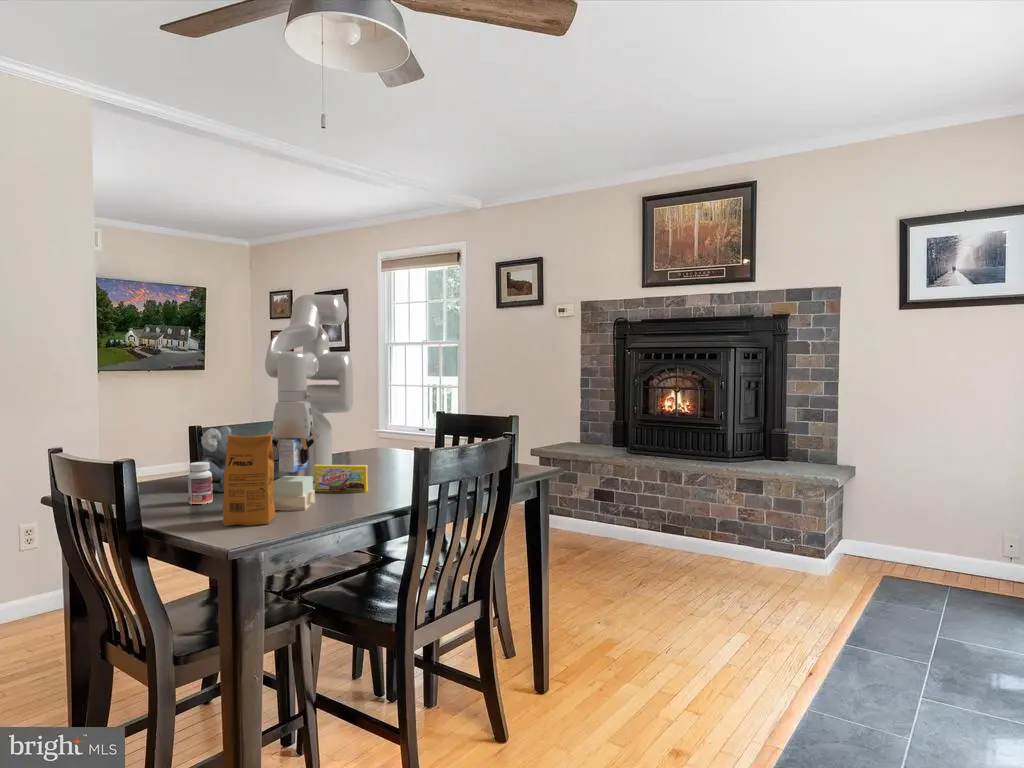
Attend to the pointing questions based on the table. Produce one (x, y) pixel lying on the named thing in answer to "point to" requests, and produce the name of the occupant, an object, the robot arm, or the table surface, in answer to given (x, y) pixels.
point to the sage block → (293, 486)
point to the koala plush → (216, 454)
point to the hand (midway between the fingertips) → (293, 462)
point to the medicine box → (290, 455)
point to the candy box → (341, 477)
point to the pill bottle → (200, 483)
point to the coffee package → (248, 481)
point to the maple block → (294, 501)
